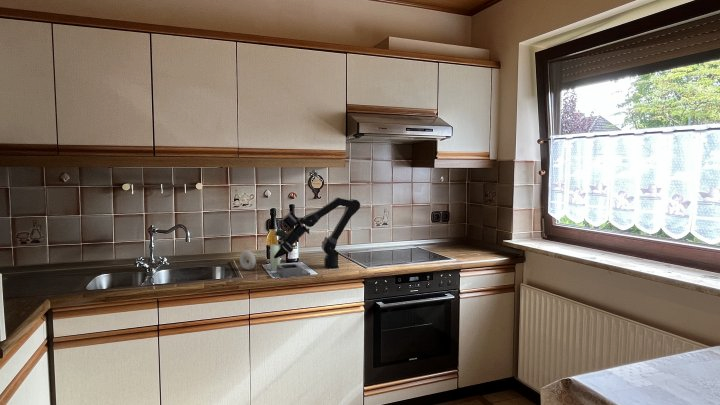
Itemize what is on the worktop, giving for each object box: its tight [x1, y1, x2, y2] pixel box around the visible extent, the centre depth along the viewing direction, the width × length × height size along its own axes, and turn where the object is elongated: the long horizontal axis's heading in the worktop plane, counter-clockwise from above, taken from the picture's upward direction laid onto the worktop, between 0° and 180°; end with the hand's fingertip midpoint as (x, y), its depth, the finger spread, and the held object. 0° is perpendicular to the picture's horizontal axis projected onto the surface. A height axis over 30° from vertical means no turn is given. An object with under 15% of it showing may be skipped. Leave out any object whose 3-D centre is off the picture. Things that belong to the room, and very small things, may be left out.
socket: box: [275, 263, 311, 279], centre depth 223 cm, size 14×11×4 cm
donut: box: [239, 250, 257, 271], centre depth 229 cm, size 10×4×10 cm, turn 58°
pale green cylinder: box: [269, 243, 281, 272], centre depth 230 cm, size 5×5×13 cm
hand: (273, 255), depth 230 cm, fingers open, 9 cm apart
